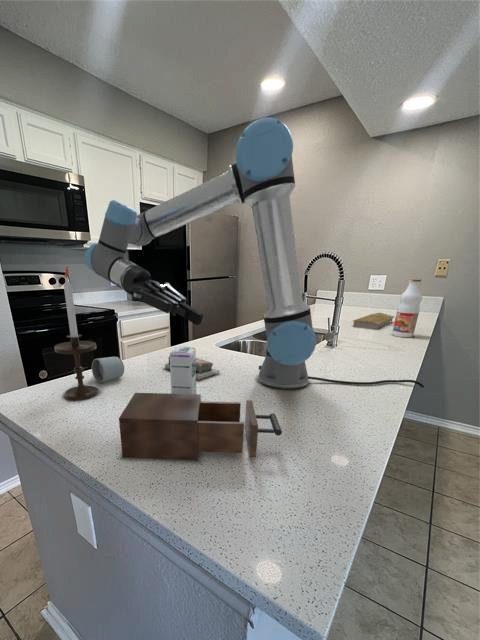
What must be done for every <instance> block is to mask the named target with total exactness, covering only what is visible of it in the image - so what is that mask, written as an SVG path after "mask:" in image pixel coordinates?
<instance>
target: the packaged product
mask: <svg viewBox="0 0 480 640" xmlns="http://www.w3.org/2000/svg"><path fill="white" fill-rule="evenodd" d="M213 366H214V363H213V362H212V361H209V360H205V359H202V358H198V357H196V380H198V381H199V380H203V379H205V378H207V377H210V376H214V375H217V374H219V373H220V370H219V369H216V368H213ZM164 368H165V369H167V370H170V355H169V356H168V363H165V364H164Z"/></svg>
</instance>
